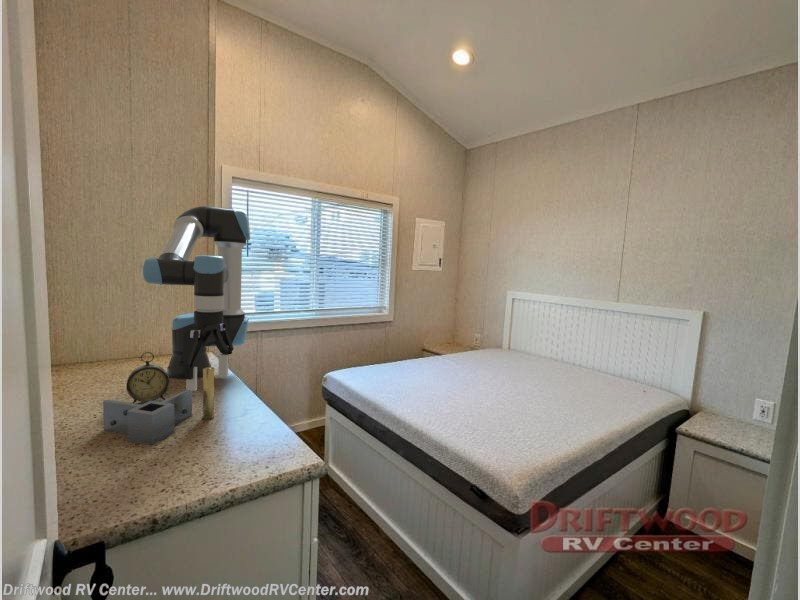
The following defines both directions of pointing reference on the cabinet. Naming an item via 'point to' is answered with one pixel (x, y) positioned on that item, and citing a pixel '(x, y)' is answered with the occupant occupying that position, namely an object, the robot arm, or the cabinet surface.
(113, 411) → the hinge leaves
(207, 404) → the hinge pin
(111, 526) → the cabinet surface
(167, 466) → the cabinet surface
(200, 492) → the cabinet surface
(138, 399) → the alarm clock
